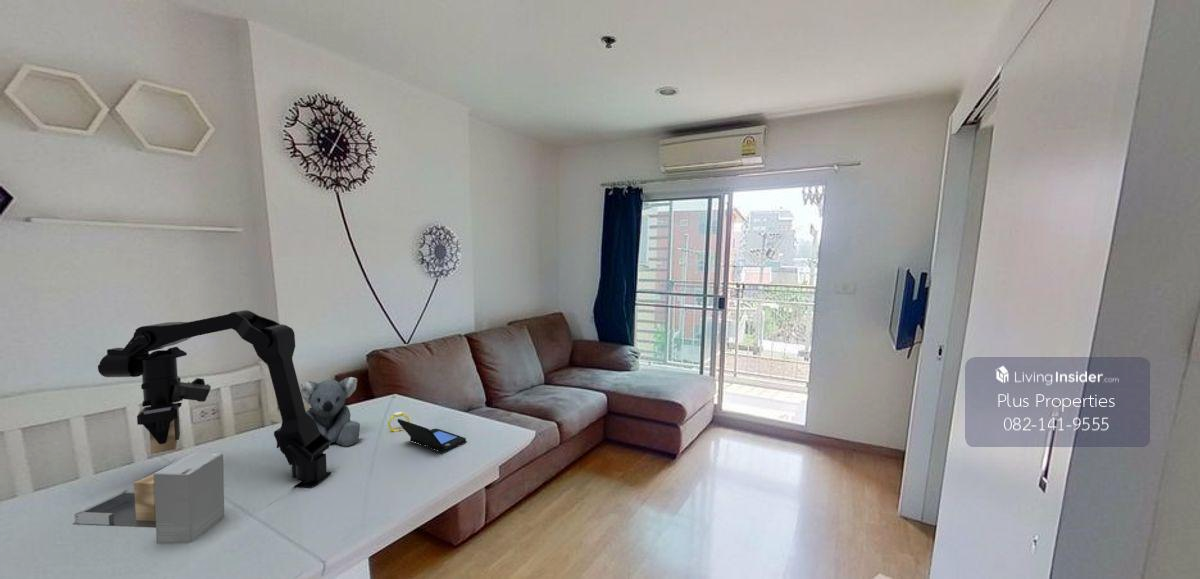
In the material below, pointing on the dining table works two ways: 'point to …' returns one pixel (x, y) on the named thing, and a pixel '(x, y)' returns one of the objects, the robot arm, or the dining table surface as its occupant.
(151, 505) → the block
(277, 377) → the robot arm
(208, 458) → the skincare box
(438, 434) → the game console
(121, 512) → the rail
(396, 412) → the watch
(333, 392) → the koala plush
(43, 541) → the dining table surface
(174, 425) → the block
